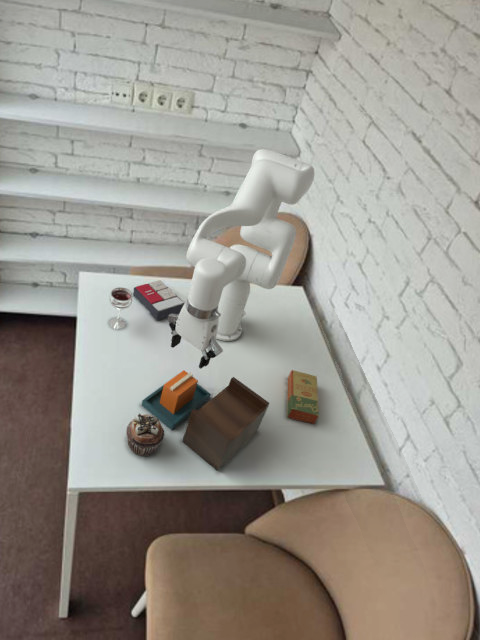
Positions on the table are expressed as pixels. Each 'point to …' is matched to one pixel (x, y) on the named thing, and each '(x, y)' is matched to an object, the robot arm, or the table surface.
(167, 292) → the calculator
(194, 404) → the tray
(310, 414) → the carton
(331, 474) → the table surface
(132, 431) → the cupcake
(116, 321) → the wineglass
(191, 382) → the packet
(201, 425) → the shelf
